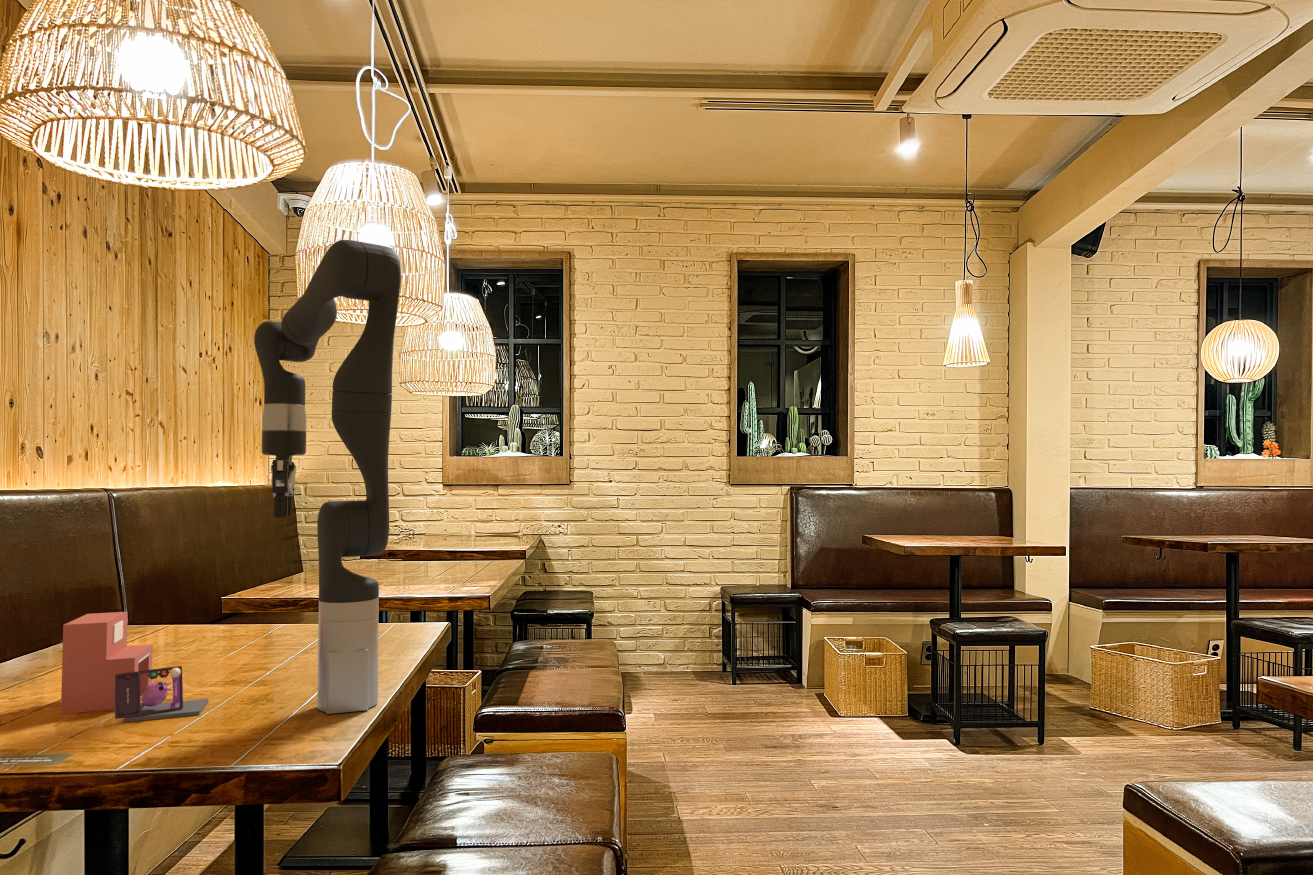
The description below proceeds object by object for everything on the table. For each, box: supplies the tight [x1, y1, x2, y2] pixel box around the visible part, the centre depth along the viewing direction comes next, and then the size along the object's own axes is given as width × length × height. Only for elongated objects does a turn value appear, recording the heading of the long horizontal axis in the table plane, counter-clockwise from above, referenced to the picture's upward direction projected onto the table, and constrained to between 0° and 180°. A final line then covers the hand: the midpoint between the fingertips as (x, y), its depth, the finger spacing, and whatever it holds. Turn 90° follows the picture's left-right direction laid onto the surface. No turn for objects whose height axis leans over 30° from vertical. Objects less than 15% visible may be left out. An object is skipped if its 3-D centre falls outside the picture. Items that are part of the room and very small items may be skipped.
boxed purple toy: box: [114, 665, 184, 720], centre depth 129 cm, size 7×5×9 cm
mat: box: [124, 698, 209, 723], centre depth 131 cm, size 8×10×1 cm
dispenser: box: [60, 611, 154, 715], centre depth 138 cm, size 12×10×14 cm
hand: (283, 516), depth 151 cm, fingers open, 8 cm apart
